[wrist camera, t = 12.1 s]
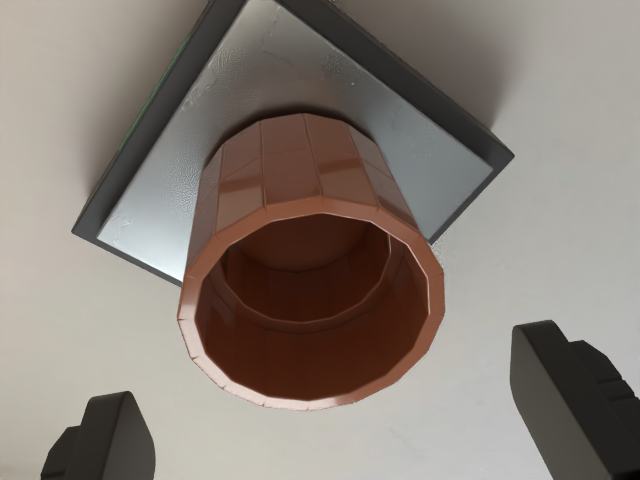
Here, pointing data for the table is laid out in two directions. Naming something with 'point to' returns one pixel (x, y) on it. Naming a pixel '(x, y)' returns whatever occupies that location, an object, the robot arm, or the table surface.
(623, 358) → the table surface
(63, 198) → the table surface
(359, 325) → the terracotta flower pot
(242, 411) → the table surface
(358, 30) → the scale
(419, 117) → the pan
